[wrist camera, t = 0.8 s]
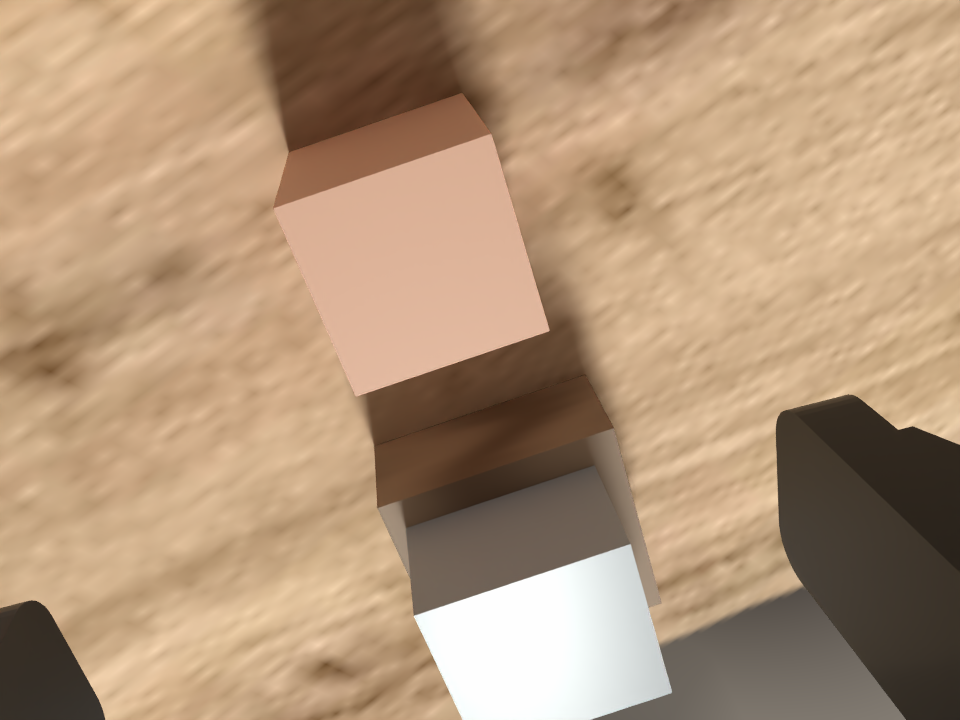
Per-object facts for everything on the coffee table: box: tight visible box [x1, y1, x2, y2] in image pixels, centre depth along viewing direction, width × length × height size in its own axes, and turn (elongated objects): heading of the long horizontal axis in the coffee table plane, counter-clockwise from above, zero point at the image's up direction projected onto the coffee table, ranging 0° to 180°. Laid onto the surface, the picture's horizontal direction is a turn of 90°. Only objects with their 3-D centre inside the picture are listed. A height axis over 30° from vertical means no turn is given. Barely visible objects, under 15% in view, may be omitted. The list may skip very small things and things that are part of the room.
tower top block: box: [406, 465, 672, 720], centre depth 27 cm, size 6×6×4 cm
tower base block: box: [374, 375, 661, 608], centre depth 31 cm, size 8×8×4 cm
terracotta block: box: [273, 93, 550, 397], centre depth 24 cm, size 6×6×6 cm
